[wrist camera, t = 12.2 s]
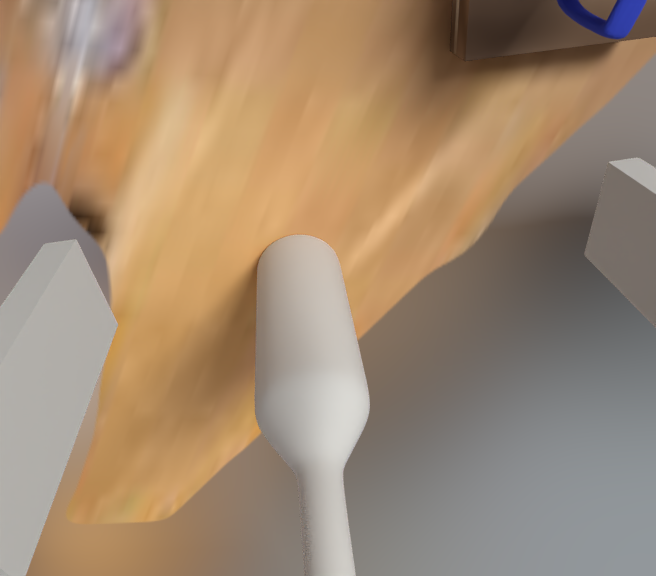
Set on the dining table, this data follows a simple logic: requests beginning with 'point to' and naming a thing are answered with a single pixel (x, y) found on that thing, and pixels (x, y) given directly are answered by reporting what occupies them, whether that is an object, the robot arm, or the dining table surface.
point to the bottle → (310, 388)
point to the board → (531, 27)
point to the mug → (614, 26)
